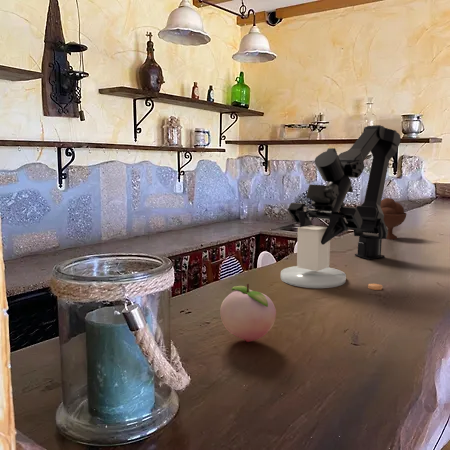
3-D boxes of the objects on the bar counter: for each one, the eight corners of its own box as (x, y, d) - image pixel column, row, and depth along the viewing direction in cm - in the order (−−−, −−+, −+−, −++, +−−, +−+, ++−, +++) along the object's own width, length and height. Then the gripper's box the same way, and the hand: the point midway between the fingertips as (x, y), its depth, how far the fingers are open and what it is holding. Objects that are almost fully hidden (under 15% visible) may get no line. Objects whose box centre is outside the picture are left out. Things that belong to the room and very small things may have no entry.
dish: (317, 268, 123) (317, 263, 123) (359, 282, 109) (360, 276, 109) (268, 275, 116) (268, 269, 116) (306, 291, 102) (306, 285, 102)
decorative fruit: (209, 341, 75) (208, 283, 73) (242, 328, 80) (242, 274, 79) (250, 359, 68) (251, 296, 67) (284, 343, 74) (285, 284, 72)
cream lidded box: (309, 263, 116) (310, 224, 115) (329, 266, 112) (330, 227, 111) (296, 267, 112) (297, 227, 110) (317, 271, 108) (318, 230, 106)
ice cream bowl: (386, 241, 161) (388, 199, 159) (368, 236, 172) (370, 197, 170) (411, 239, 164) (414, 199, 162) (392, 234, 175) (394, 196, 172)
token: (375, 285, 107) (375, 282, 107) (385, 288, 104) (385, 286, 104) (364, 287, 105) (365, 284, 105) (375, 290, 103) (375, 288, 102)
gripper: (292, 171, 118) (266, 218, 111) (359, 173, 105) (334, 225, 99) (307, 199, 125) (284, 244, 118) (372, 204, 112) (349, 254, 106)
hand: (310, 241), depth 110 cm, fingers closed on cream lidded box, 6 cm apart
